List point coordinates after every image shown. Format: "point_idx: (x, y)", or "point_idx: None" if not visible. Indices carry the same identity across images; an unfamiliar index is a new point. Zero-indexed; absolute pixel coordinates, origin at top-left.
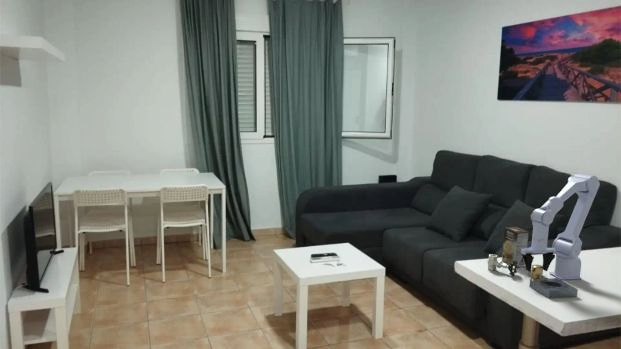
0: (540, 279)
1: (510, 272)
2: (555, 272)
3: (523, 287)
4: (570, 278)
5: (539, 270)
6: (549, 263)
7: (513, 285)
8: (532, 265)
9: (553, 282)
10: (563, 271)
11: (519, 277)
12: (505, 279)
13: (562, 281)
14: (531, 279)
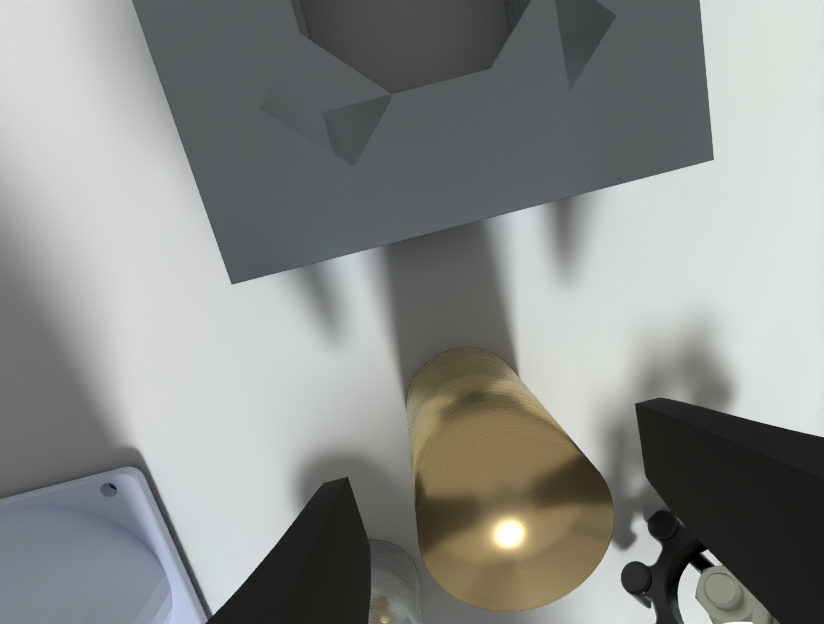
0: (540, 177)
1: (705, 557)
2: (153, 615)
3: (726, 136)
4: (8, 499)
5: (495, 416)
6: (260, 586)
7: (816, 194)
8: (584, 573)
9: (362, 75)
10: (32, 582)
11: (615, 475)
12: (808, 387)
13: (190, 117)
14: (693, 155)
